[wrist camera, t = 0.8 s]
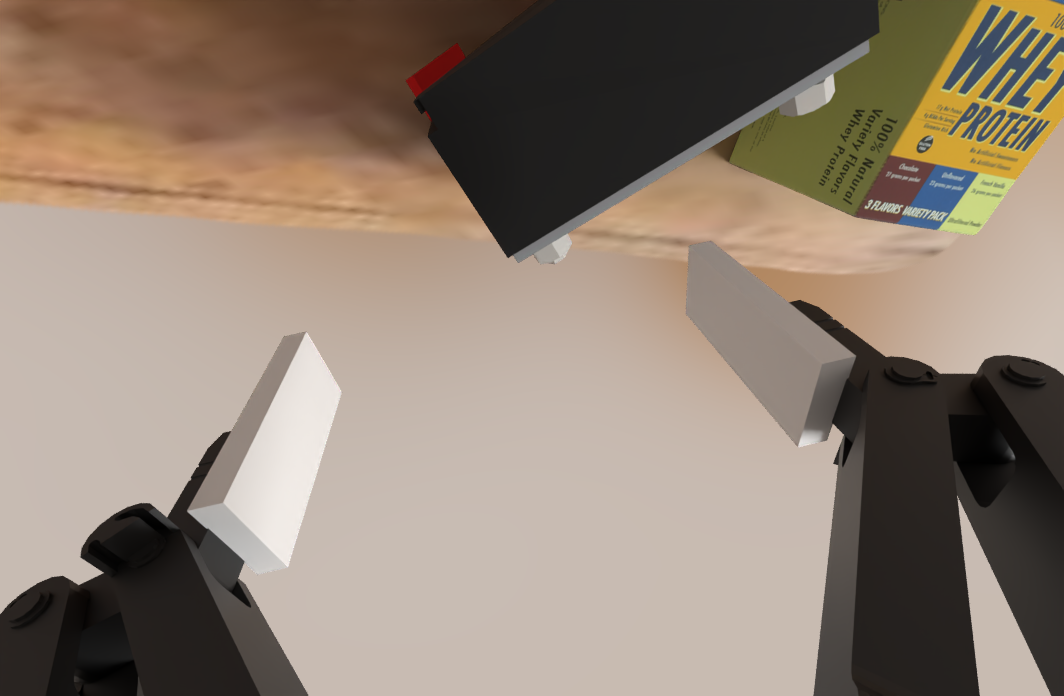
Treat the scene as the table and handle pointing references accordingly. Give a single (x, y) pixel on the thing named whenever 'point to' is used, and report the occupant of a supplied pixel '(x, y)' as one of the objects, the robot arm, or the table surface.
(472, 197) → the electrical component
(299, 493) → the robot arm
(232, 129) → the table surface
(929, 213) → the protein box
